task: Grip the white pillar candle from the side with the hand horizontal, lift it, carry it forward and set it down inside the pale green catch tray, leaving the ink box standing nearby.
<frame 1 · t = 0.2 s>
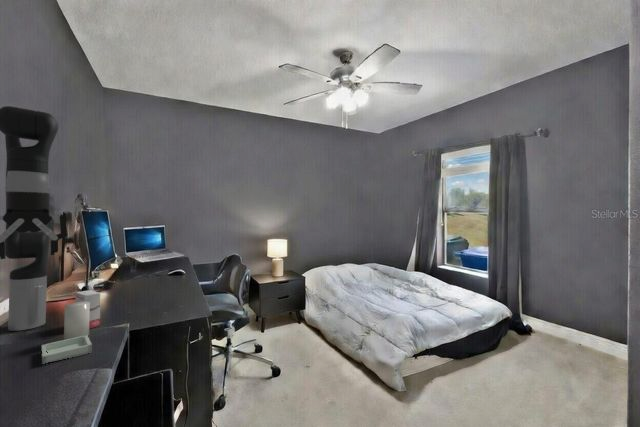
hand: (28, 256, 70), 28 cm above the table, tool pointing down, fingers open, 8 cm apart
white pillar candle: (76, 339, 89), on the table
catch tray: (66, 352, 80), on the table
ink box: (87, 326, 101), on the table
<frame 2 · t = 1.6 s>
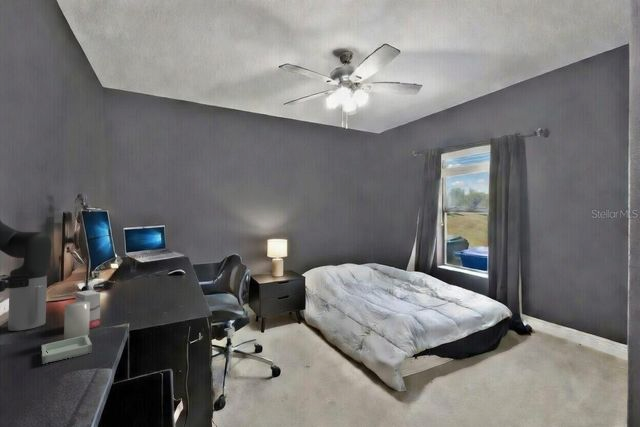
hand: (28, 280, 82), 20 cm above the table, tool horizontal, fingers open, 8 cm apart
nothing on the table moved.
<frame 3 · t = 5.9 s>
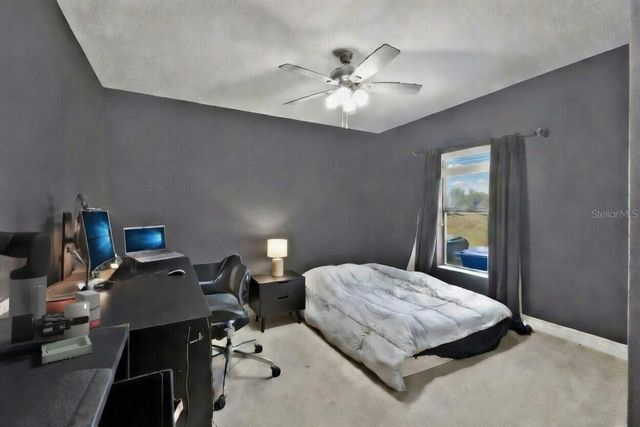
hand: (87, 316, 91), 7 cm above the table, tool horizontal, fingers closed on white pillar candle, 6 cm apart
white pillar candle: (76, 339, 89), on the table, touching gripper
everything else where it was.
when the fingers open (8 cm above the table, at t = 10.7 s): white pillar candle stays where it is, resting on catch tray.
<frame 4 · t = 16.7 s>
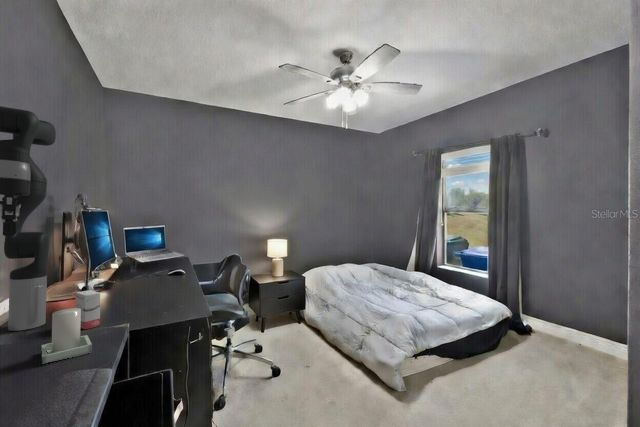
hand: (9, 235, 80), 33 cm above the table, tool pointing down, fingers open, 8 cm apart
white pillar candle: (65, 350, 80), point 1 cm above the table, touching catch tray
everything else where it was.
at the end: white pillar candle inside the target area on the catch tray (0.2 cm from its centre), point 0.6 cm above the catch tray's base; white pillar candle tilted 0°; the gripper is holding nothing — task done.
